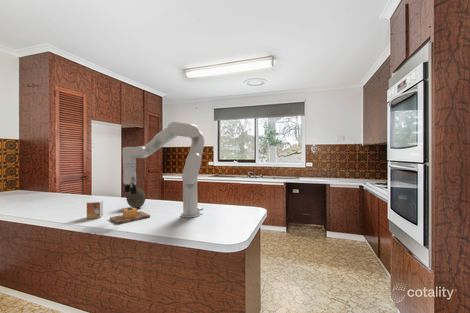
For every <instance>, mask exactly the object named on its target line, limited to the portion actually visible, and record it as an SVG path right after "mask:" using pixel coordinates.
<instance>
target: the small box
mask: <svg viewBox="0 0 470 313" xmlns="http://www.w3.org/2000/svg"><path fill="white" fill-rule="evenodd" d="M102 217H104V200H103V199H102V200H89V201H87V202H86V219H100V218H102Z"/></svg>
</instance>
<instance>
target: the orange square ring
mask: <svg viewBox="0 0 470 313" xmlns="http://www.w3.org/2000/svg"><path fill="white" fill-rule="evenodd" d="M137 212H138V208H133V207H132V210H129V211H128V208H124V209H122V215H123V217H125V218H131V217H136V216H138V214H137Z"/></svg>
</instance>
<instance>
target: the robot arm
mask: <svg viewBox="0 0 470 313" xmlns="http://www.w3.org/2000/svg"><path fill="white" fill-rule="evenodd" d="M178 137H184V138H189V139H191V144H190V150H189V152H188V155H186V156H187V157H186V159H185V164H184V167H183V171H182V175H181V178H182V204H183V206H182V209H183V212H181V213H180V216H181V218H184V219H186V218H187V219H191V218H197V217H199V216H200V215H201V213H200V212H201V211H203V210H204V207H198V203H199V202H198V176H199V172H200V169H201V165H202V157H203V152H204V148H205V138H204V137H205V136H204V134H203V133H202V132H201V130H200V129H199V127H198V125H195V124H192V123H185V122H179V121H171V122H169V123H168V125H167V127H165V128H164V129H162V130H161V131H159V132H158V133H156V134H155V135H154V136H153V138H152V139H151V140H150V141H149V142H148V143H146V144H144V145H140V146H125V147H123V148H122V167H123V168H122V169H123V172H122V174H123V176H122V178H123V179H122V180H123V181H122V182H123V184H124V192H125V193H128V192H130V190H131V194H136V188H137V172H136V169H137V159H145V158H148V157H150V156H151V155H153V154H154V153H155V152H157V151H158V150H159V149H161V148H162V147H164V146H165V145H167V144H168V143H169V142H171V141H173V140H174V139H176V138H178Z"/></svg>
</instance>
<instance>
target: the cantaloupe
mask: <svg viewBox="0 0 470 313" xmlns="http://www.w3.org/2000/svg"><path fill="white" fill-rule="evenodd" d="M126 193H127V194H126V196H125V197H126V202H127V204H128V206H130V207H132V208H136V209H140V208H141V207H143V206H144V204H145V202H146V198H147V197H146V193H145V191H144V190H143V189H142V188H137V187H136V194H131V189H130V192H126Z"/></svg>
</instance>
